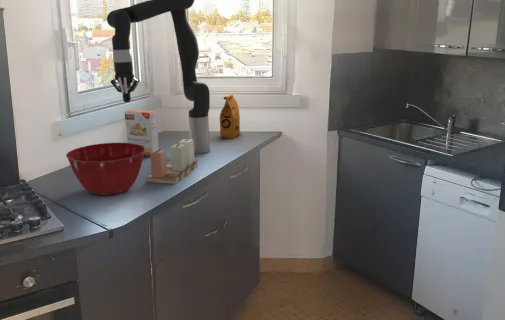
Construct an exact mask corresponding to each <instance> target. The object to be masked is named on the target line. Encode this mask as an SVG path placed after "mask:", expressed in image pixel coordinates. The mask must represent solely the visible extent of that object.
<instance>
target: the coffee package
mask: <svg viewBox="0 0 505 320" xmlns="http://www.w3.org/2000/svg"><path fill="white" fill-rule="evenodd" d="M223 100H224V101H225V102H224V105H223V107H222V109H221V110H220V113H219V128H220V129H219V132H220V135H219V136H220V137H221V138H226V139H235V138H236V137H238V136H240V134H241V123H240V122H241V121H240V108H239V104H238V102H237V100H236V98H235V97H234V96H233V93H229V95H228V96H224V97H223Z"/></svg>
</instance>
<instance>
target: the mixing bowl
mask: <svg viewBox="0 0 505 320" xmlns="http://www.w3.org/2000/svg"><path fill="white" fill-rule="evenodd" d="M144 151H145V148H144V147H143V146H141V145H138V144H133V143H127V142H106V143H105V142H104V143H97V144H96V143H95V144H89V145H86V146H80V147H77V148H74V149H72V150H69V151H68V152H67V153H66V154H65V156H66V158H67V160H68V163H69V165H70V167H71V170H72V172H73V173H74V175H75V177H76V179H77V180H78V182H79V183H80V184H81V186H82V187H83V188H84V189H85V191H88V192H89V193H92V194H93V195H96V196H115V195H118V194H122V193H124V192H126V191H127V190H129V189H130V188H131V187H132V186H133V185H134V183H135V182H136V180H137V179H138V176H139V174H140V171H141V168H142V165H143V164H142V163H143V159H144V156H145V155H144Z"/></svg>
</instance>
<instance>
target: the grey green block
mask: <svg viewBox="0 0 505 320" xmlns="http://www.w3.org/2000/svg"><path fill="white" fill-rule="evenodd" d="M169 148H170V161H171V163H172V171H182V170H183V169H185V168H186V153H185V145H179V144H177V143H175V144H173V145H172V146H170V147H169Z"/></svg>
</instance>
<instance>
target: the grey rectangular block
mask: <svg viewBox="0 0 505 320" xmlns="http://www.w3.org/2000/svg"><path fill="white" fill-rule="evenodd" d="M178 145H185V153H186V165H190V164H191V163H193V162H194V161H195V153H194V145H193V140H190V138H188V139H186V138H185V139H184V138H183V139H181V140H180V141H179V143H178Z"/></svg>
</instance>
